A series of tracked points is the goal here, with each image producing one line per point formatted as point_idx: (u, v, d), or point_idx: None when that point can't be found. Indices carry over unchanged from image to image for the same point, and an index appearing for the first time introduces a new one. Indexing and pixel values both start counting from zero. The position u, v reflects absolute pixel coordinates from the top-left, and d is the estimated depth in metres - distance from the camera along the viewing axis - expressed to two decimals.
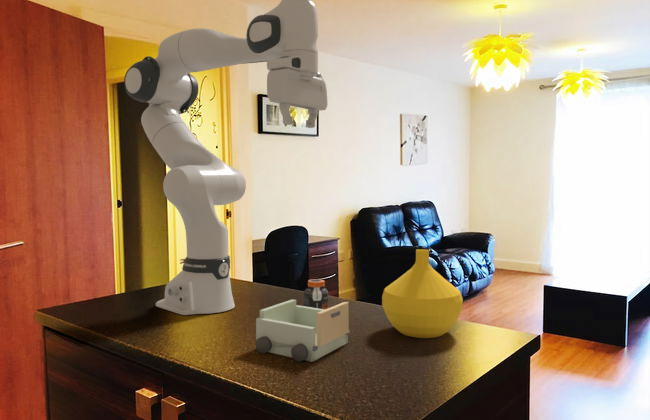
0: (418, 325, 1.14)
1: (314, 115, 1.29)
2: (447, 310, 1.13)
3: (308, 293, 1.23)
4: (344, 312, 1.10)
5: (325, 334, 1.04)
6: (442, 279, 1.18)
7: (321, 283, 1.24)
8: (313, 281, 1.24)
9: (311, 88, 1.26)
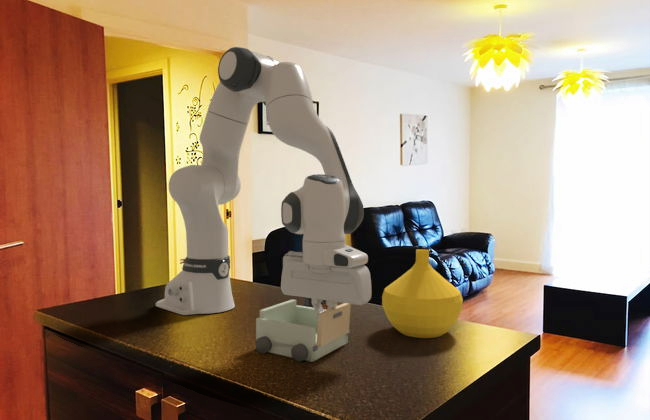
0: (418, 325, 1.14)
1: (320, 304, 1.09)
2: (447, 310, 1.13)
3: None
4: (345, 313, 1.10)
5: (326, 334, 1.04)
6: (442, 279, 1.18)
7: None
8: None
9: None
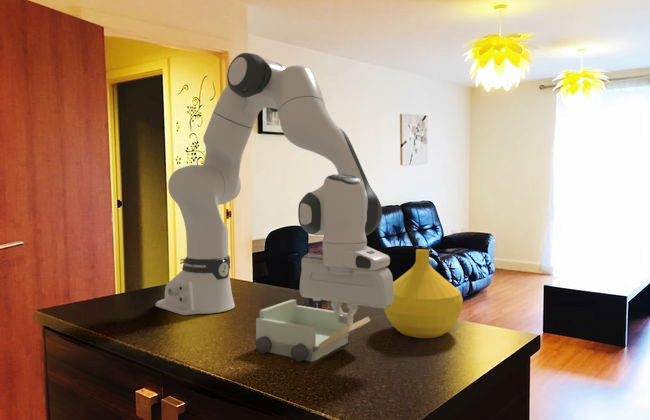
0: (418, 325, 1.14)
1: (340, 307, 1.07)
2: (447, 310, 1.13)
3: None
4: (360, 326, 1.08)
5: (332, 342, 1.03)
6: (442, 279, 1.18)
7: None
8: None
9: None
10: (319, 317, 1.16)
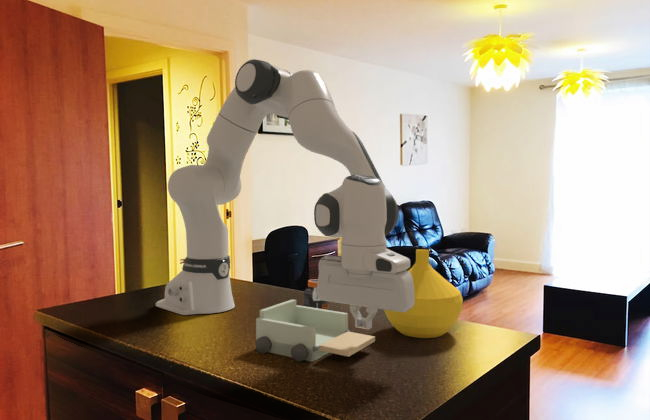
0: (418, 325, 1.14)
1: (358, 311, 1.05)
2: (447, 310, 1.13)
3: (308, 293, 1.23)
4: None
5: None
6: (442, 279, 1.18)
7: None
8: (313, 281, 1.24)
9: None
10: (319, 317, 1.16)
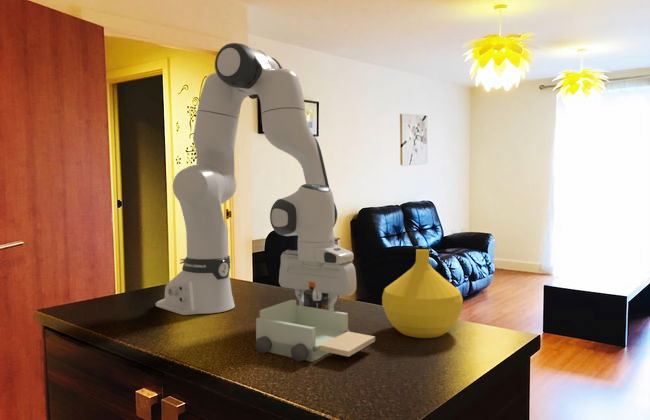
0: (418, 325, 1.14)
1: (302, 294, 1.28)
2: (447, 310, 1.13)
3: (308, 293, 1.23)
4: None
5: None
6: (442, 279, 1.18)
7: None
8: None
9: None
10: (319, 317, 1.16)
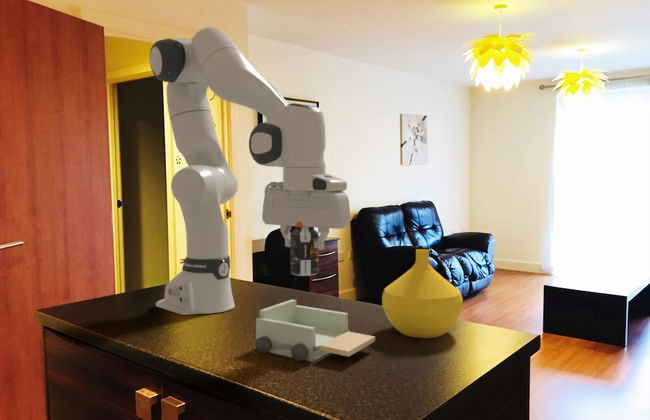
0: (418, 325, 1.14)
1: (289, 232, 1.13)
2: (447, 310, 1.13)
3: (295, 233, 1.08)
4: None
5: None
6: (442, 279, 1.18)
7: None
8: None
9: None
10: (319, 317, 1.16)
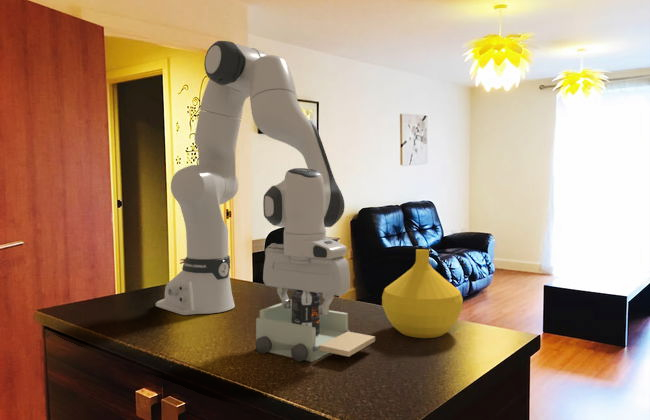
0: (418, 325, 1.14)
1: (285, 293, 1.14)
2: (447, 310, 1.13)
3: (296, 296, 1.09)
4: None
5: None
6: (442, 279, 1.18)
7: None
8: None
9: None
10: None
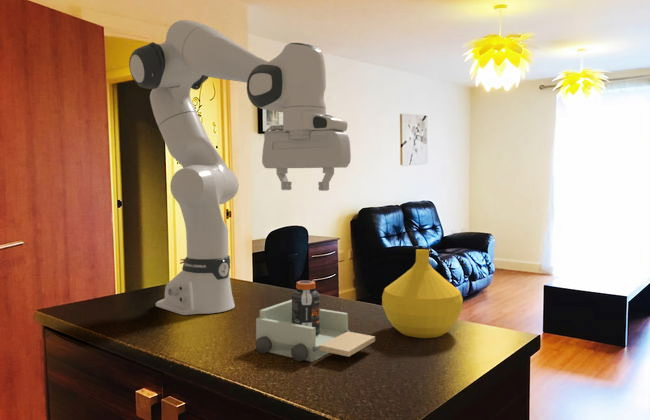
0: (418, 325, 1.14)
1: (285, 176, 1.12)
2: (447, 310, 1.13)
3: (296, 296, 1.09)
4: None
5: None
6: (442, 279, 1.18)
7: (311, 285, 1.09)
8: (302, 283, 1.10)
9: None
10: None
